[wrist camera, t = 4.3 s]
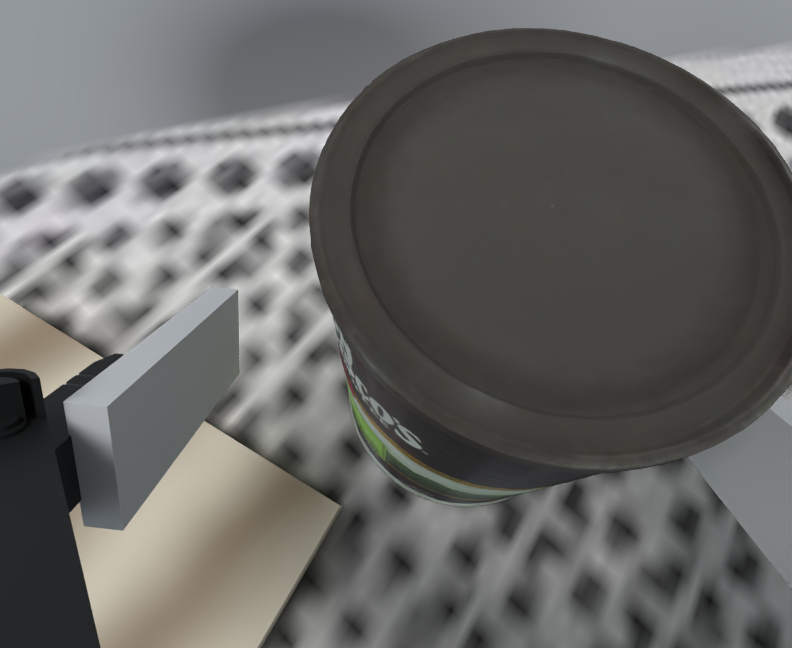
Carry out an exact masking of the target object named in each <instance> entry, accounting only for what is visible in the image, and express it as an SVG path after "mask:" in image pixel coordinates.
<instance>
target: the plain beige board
mask: <svg viewBox="0 0 792 648" xmlns="http://www.w3.org/2000/svg"><path fill="white" fill-rule="evenodd" d="M100 359H103V357H101V356H99V355H98V354H96V353H95V352H93V351H91V350H90V349H88V348H86V347H85V346H83V345H82V344H80V343H78V342H77V341H75V340H74V339H72V338H70V337H69V336H67V335H66V334H64V333H62V332H61V331H59V330H58V329H56V328H54V327H53V326H51V325H50V324H48V323H46V322H45V321H43V320H42V319H40V318H38V317H37V316H35V315H34V314H32V313H30V312H29V311H27V310H26V309H24V308H22V307H21V306H19V305H17V304H16V303H14V302H13V301H11V300H9V299H8V298H6V297H5V296H3V295H1V294H0V369H6V368H14V369H26V370H29V371H32V372H35V373H36V374H37V375H38V376H39V378H40V382H41V387H42V393H43V398H45V397H46V396H48V395H49V394H50V393H52V392H53V391H55V390H56V389H57V388H59V387H60V386H62V385H63V384H65V385H66V382H67V381H68V380H70V379H71V378H73V377H74V376H75V375H79V373H80V372H81V371H82V370H84V369H85V368H86V367H88V366H89V365H91V364H92V363H93V362H95V361H98V360H100ZM342 508H343V507H341V506H340V505H338V504H337V503H335V502H334V501H332V500H330V499H329V498H327V497H326V496H324V495H322V494H321V493H319V492H318V491H316V490H314V489H313V488H311V487H310V486H308V485H306V484H305V483H303V482H302V481H300V480H298V479H297V478H295V477H293V476H292V475H290V474H289V473H287V472H285V471H284V470H282V469H281V468H279V467H277V466H276V465H274V464H273V463H271V462H269V461H268V460H266V459H265V458H263V457H261V456H260V455H258V454H257V453H255V452H253V451H252V450H250V449H249V448H247V447H245V446H244V445H242V444H241V443H239V442H237V441H236V440H234V439H233V438H231V437H229V436H228V435H226V434H224V433H223V432H221V431H220V430H218V429H216V428H215V427H213V426H212V425H210V424H208V423H207V422H205V421H204V422H203V423H202V425H201V426H200V427H199V429H198V430H197V431H196V433H195V434H194V435H193V437H192V438H191V439H190V441H189V442H188V444H187V445H186V446H185V448H184V449H183V450H182V452H181V453H180V454H179V456H178V457H177V458H176V460H175V461H174V462H173V464H172V465H171V467H170V468H169V469H168V471H167V472H166V473H165V475H164V476H163V477H162V479H161V480H160V481H159V483H158V484H157V485H156V487H155V488H154V490H153V491H152V492H151V494H150V495H149V496H148V498H147V499H146V500H145V502H144V503H143V504H142V506H141V507H140V509H139V510H138V511H137V513H136V514H135V515H134V517H133V518H132V519H131V521H130V522H129V523H128V525H127V526H126V527H125V529H124V530H123V531H121V530H112V529H103V528H95V527H86V526H84V525H83V519H82V513H81V507H80V502H79V503H78V504H77V505H76V507H75V508H74V509H73V510H72V511H71V512H70V513H69V514H70V519H71V523H72V527H73V531H74V536H75V540H76V544H77V549H78V553H79V557H80V561H81V566H82V570H83V574H84V579H85V583H86V587H87V591H88V596H89V600H90V604H91V609H92V613H93V617H94V621H95V626H96V630H97V634H98V639H99V643H100V647H101V648H262V646H263V644H264V643H265V641H266V639H267V637H268V636H269V634H270V632H271V631H272V629H273V627H274V625H275V624H276V622H277V620H278V618H279V617H280V615H281V613H282V612H283V610H284V608H285V606H286V605H287V603H288V601H289V600H290V598H291V596H292V594H293V593H294V591H295V589H296V587H297V586H298V584H299V582H300V581H301V579H302V577H303V575H304V574H305V572H306V570H307V568H308V567H309V565H310V563H311V562H312V560H313V558H314V556H315V555H316V553H317V551H318V549H319V548H320V546H321V544H322V543H323V541H324V539H325V537H326V536H327V534H328V532H329V530H330V529H331V527H332V525H333V524H334V522H335V520H336V518H337V517H338V515H339V513H340V512H341V510H342Z"/></svg>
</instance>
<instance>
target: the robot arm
mask: <svg viewBox="0 0 792 648" xmlns="http://www.w3.org/2000/svg"><path fill="white" fill-rule="evenodd" d="M238 374H239V323H238V290H235V289H226V288H217V287H211V288H210V289H209V290H207V291H206V292H205V293H204V294H202V295H201V296H200V297H198V298H197V299H196V300H194V301H193V302H192V303H191V304H189V305H188V306H187V307H185V308H184V309H183V310H182V311H180V312H179V313H178V314H176V315H175V316H174V317H172V318H171V319H170V320H169V321H167V322H166V323H165V324H163V325H162V326H161V327H159V328H158V329H157V330H156V331H154V332H153V333H152V334H150V335H149V336H148V337H147V338H145V339H144V340H143V341H141V342H140V343H139V344H137V345H136V346H135V347H134V348H132V349H131V350H130V351H128V352H127V353H126V354H113V355H111V356H108V357H106V358H103V359H100V360H98V361H95V362H93V363H92V364H91V365H89V366H88V367H86V368H85V369H84V370H82V371H81V372H80V373H79V375H75V376H74V377H73V378H71V379H70V380H68V381H67V382H66V385H65V384H63V385H62V386H60V387H59V388H57V389H56V390H55V391H53V392H52V393H50V394H49V395H48V396H46V397H45V398H43V393H42V387H41V382H40V378H39V376H38V375H37V374H36V373H35V372H32V371H29V370H26V369H14V368H6V369H0V648H101V647H100V643H99V639H98V634H97V630H96V626H95V621H94V617H93V613H92V609H91V604H90V600H89V596H88V591H87V587H86V583H85V579H84V574H83V570H82V566H81V561H80V557H79V553H78V549H77V544H76V540H75V536H74V531H73V527H72V523H71V519H70V514H69V513H70V512H71V511H72V510H73V509H74V508H75V507H76V505H77V504H78V503H79V502H80V507H81V513H82V519H83V525H84V526H86V527H95V528H103V529H112V530H121V531H123V530H124V529H125V527H126V526H127V525H128V523H129V522H130V521H131V519H132V518H133V517H134V515H135V514H136V513H137V511H138V510H139V509H140V507H141V506H142V504H143V503H144V502H145V500H146V499H147V498H148V496H149V495H150V494H151V492H152V491H153V490H154V488H155V487H156V485H157V484H158V483H159V481H160V480H161V479H162V477H163V476H164V475H165V473H166V472H167V471H168V469H169V468H170V467H171V465H172V464H173V462H174V461H175V460H176V458H177V457H178V456H179V454H180V453H181V452H182V450H183V449H184V448H185V446H186V445H187V444H188V442H189V441H190V439H191V438H192V437H193V435H194V434H195V433H196V431H197V430H198V429H199V427H200V426H201V425H202V423H203V422H204V420H205V419H206V418H207V416H208V415H209V414H210V412H211V411H212V410H213V408H214V407H215V406H216V404H217V403H218V402H219V400H220V399H221V397H222V396H223V395H224V393H225V392H226V391H227V389H228V388H229V387H230V385H231V384H232V383H233V381H234V380H235V379H236V377H237V376H238ZM687 458H688V459H689V460H690V461H691V463H692V464H693V465H694V466H695V468H696V469H697V470H698V471H699V473H700V474H701V475H702V477H703V478H704V479H705V480H706V482H707V483H708V484H709V485H710V487H711V488H712V489H713V490H714V492H715V493H716V494H717V496H718V497H719V498H720V499H721V501H722V502H723V503H724V504H725V506H726V507H727V508H728V509H729V511H730V512H731V513H732V514H733V516H734V517H735V518H736V520H737V521H738V522H739V523H740V525H741V526H742V527H743V528H744V530H745V531H746V532H747V533H748V535H749V536H750V537H751V539H752V540H753V541H754V542H755V544H756V545H757V546H758V547H759V549H760V550H761V551H762V552H763V554H764V555H765V556H766V557H767V559H768V560H769V561H770V563H771V564H772V565H773V566H774V568H775V569H776V570H777V571H778V573H779V574H780V575H781V576H782V578H783V579H784V580H785V581H786V583H787V584H788V585H789V587H790V588H791V589H792V403H791V402H790V401H789V400H788V399H786V398H785V397H784V396H782V395H781V396H780V397H779V398H778V400H777V401H776V402H775V403H774V404H773V405H772V407H771V408H769V409H768V410H767V411H766V412H765V413H764V414H763V415H762V416H760V417H759V418H758V419H757V420H756V421H754V422H753V423H752V424H751V425H749V426H748V427H747V428H745V429H744V430H742V431H741V432H739V433H737V434H735V435H734V436H732V437H730V438H729V439H727V440H725V441H723V442H721V443H719V444H717V445H715V446H713V447H711V448H709V449H707V450H704V451H702V452H700V453H697V454H695V455H692V456H689V457H687Z"/></svg>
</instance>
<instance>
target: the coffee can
mask: <svg viewBox="0 0 792 648" xmlns="http://www.w3.org/2000/svg"><path fill="white" fill-rule="evenodd" d="M309 225H310V235H311V249H312V253H313V257H314V262H315V266H316V270H317V274H318V278H319V281H320V284H321V287H322V291H323V294H324V297H325V299H326V302H327V304H328V306H329V308H330V311H331V313H332V315H333V320H334V323H335V328H336V334H337V339H338V343H339V349H340V355H341V358H342V363H343V367H344V372H345V376H346V381H347V386H348V391H349V404H350V411H351V417H352V421H353V423H354V426H355V429H356V432H357V434H358V436H359V439H360V441H361V442H362V444H363V446H364V448H365V449H366V451H367V453H368V454H369V455H370V457H371V458H372V459H373V461H374V462H375V463H376V464H377V465H378V467H379V468H380V469H381V470H382V471H383V472H384V473H385V474H386V475H387V476H389V477H390V478H391V479H392V480H393V481H394V482H396V483H397V484H399V485H400V486H402V487H403V488H405V489H406V490H407V491H409V492H411V493H413V494H415V495H417V496H419V497H422V498H425V499H427V500H430V501H433V502H437V503H440V504H445V505H452V506H466V507H472V506H482V505H488V504H493V503H497V502H501V501H504V500H507V499H509V498H511V497H514V496H516V495H519V494H523V493H526V492H530V491H534V490H539V489H542V488H545V487H549V486H554V485H557V484H561V483H567V482H570V481H573V480H578V479H582V478H586V477H589V476H592V475H596V474H600V473H613V472H621V471H628V470H634V469H641V468H646V467H652V466H657V465H662V464H667V463H670V462H673V461H676V460H679V459H683V458H686V457H689V456H692V455H695V454H697V453H700V452H702V451H704V450H707V449H709V448H711V447H713V446H715V445H717V444H719V443H721V442H723V441H725V440H727V439H729V438H730V437H732V436H734V435H735V434H737V433H739V432H741V431H742V430H744V429H745V428H747V427H748V426H749V425H751V424H752V423H753V422H754V421H756V420H757V419H758V418H759V417H760V416H762V415H763V414H764V413H765V412H766V411H767V410H768V409H769V408H771V407H772V405H773V404H774V403H775V402H776V401H777V400H778V398H779V397H780V396H781V395H782V394H783V393H784V392H785V390H786V389H787V388H788V387H789V386H790V384H791V383H792V172H791V170H790V169H789V167H788V165H787V163H786V162H785V160H784V159H783V158H782V156H781V155H780V153H779V152H778V150H777V148H776V147H775V146H774V144H773V143H772V142H771V141H770V140H769V138H768V137H767V136H766V135H765V134H764V133H763V132H762V131H761V130H760V128H759V127H758V126H757V125H756V124H755V123H754V122H753V121H752V120H751V119H750V118H749V117H748V116H746V115H745V114H744V113H743V112H742V111H741V110H740V109H739V108H738V107H737V106H735V105H734V104H733V103H732V102H731V101H729V100H728V99H727V98H726V97H725V96H723V95H722V94H721V93H719V92H718V91H717V90H715V89H714V88H712V87H711V86H710V85H708V84H707V83H705V82H704V81H702V80H701V79H699V78H697V77H696V76H694V75H692V74H691V73H689V72H687V71H686V70H684V69H682V68H680V67H678V66H676V65H674V64H672V63H670V62H668V61H666V60H664V59H662V58H660V57H657V56H655V55H653V54H651V53H648V52H646V51H643V50H640V49H638V48H635V47H633V46H629V45H627V44H623V43H620V42H616V41H611V40H608V39H604V38H600V37H597V36H592V35H587V34H582V33H577V32H570V31H565V30H555V29H532V28H531V29H530V28H528V29H527V28H525V29H524V28H519V29H518V28H517V29H503V30H494V31H486V32H481V33H476V34H471V35H468V36H464V37H460V38H456V39H452V40H449V41H446V42H443V43H440V44H437V45H434V46H432V47H430V48H427V49H424V50H422V51H420V52H418V53H416V54H413V55H411V56H409V57H407V58H405V59H403V60H401V61H400V62H398V63H397V64H395V65H394V66H392V67H391V68H389V69H388V70H386V71H385V72H383V73H382V74H381V75H379V76H378V77H377V78H375V79H374V80H373V81H372V82H371V84H369V85H368V86H366V87H365V88H364V90H363V91H362V92H361V93H360V94H359V95H358V96H357V97H356V98H355V99H354V100H353V101H352V103H351V104H350V105H349V106H348V107H347V109H346V110H345V112H344V113H343V114H342V116H341V117H340V119H339V120H338V122H337V123H336V125H335V127H334V128H333V130H332V132H331V134H330V135H329V137H328V139H327V141H326V144H325V146H324V147H323V149H322V152H321V155H320V157H319V160H318V163H317V166H316V169H315V172H314V176H313V181H312V187H311V194H310V206H309Z"/></svg>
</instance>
